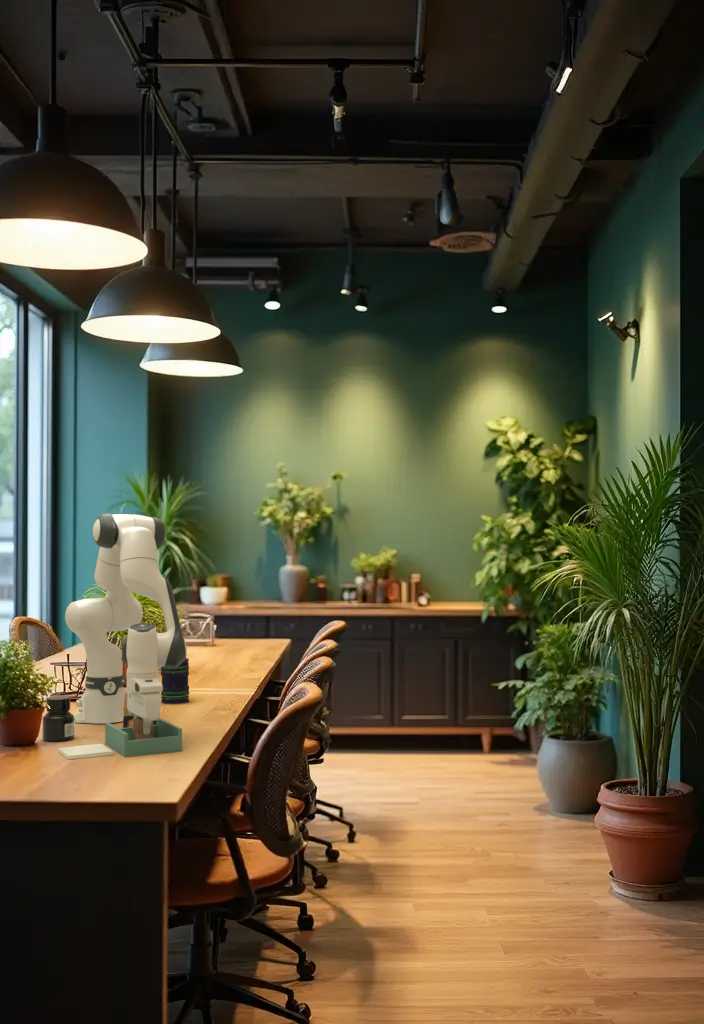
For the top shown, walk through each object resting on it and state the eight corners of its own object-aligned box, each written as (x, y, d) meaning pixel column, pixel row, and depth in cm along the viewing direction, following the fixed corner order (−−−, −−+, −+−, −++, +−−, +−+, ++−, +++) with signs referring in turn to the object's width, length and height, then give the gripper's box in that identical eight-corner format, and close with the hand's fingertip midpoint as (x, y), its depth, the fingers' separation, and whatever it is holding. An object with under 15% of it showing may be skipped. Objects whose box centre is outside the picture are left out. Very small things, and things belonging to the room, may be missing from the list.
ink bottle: (74, 741, 313) (74, 699, 313) (42, 743, 311) (42, 701, 311) (73, 735, 323) (73, 694, 323) (42, 737, 320) (42, 696, 320)
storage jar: (191, 699, 388) (191, 657, 388) (186, 704, 378) (186, 661, 378) (163, 699, 388) (163, 657, 388) (158, 704, 378) (157, 661, 378)
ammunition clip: (159, 731, 327) (159, 691, 327) (158, 732, 325) (158, 692, 325) (123, 732, 327) (123, 692, 327) (122, 733, 325) (122, 693, 325)
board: (58, 751, 299) (58, 747, 299) (101, 747, 304) (101, 743, 304) (68, 759, 288) (68, 755, 288) (113, 754, 294) (113, 751, 294)
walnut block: (132, 746, 305) (132, 718, 305) (148, 745, 307) (148, 716, 307) (137, 749, 301) (137, 720, 301) (153, 747, 303) (153, 718, 303)
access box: (105, 743, 309) (105, 722, 309) (159, 738, 316) (159, 717, 316) (124, 756, 291) (124, 734, 291) (182, 750, 299) (182, 728, 299)
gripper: (121, 678, 312) (121, 727, 312) (142, 687, 294) (142, 739, 293) (142, 677, 315) (143, 725, 314) (164, 686, 297) (165, 737, 296)
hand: (143, 732), depth 304 cm, fingers closed on walnut block, 4 cm apart
